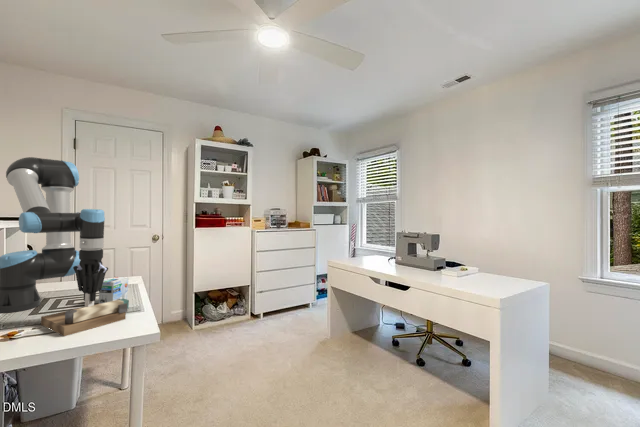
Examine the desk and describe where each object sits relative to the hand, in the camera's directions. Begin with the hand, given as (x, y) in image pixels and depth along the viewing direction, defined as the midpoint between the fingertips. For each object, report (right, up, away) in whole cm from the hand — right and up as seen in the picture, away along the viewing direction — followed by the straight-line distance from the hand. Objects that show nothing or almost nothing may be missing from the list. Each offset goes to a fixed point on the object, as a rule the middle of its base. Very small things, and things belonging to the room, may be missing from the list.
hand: (89, 309), depth 120 cm
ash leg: (+6, -1, -4) cm, 8 cm away
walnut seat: (0, -4, -3) cm, 5 cm away
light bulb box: (-5, -4, +21) cm, 22 cm away
